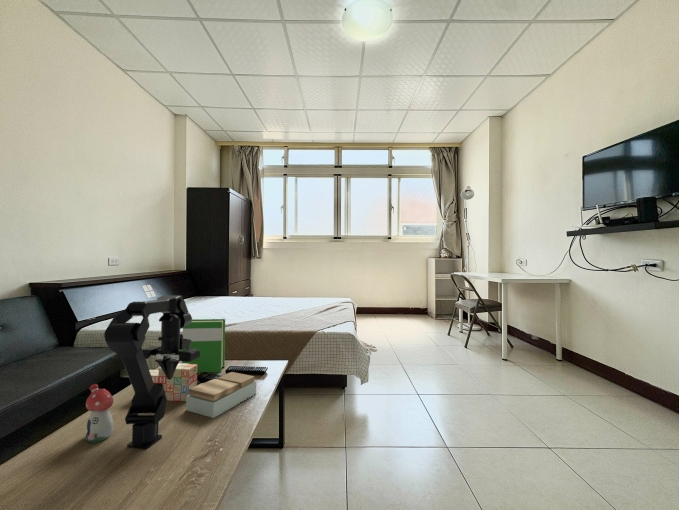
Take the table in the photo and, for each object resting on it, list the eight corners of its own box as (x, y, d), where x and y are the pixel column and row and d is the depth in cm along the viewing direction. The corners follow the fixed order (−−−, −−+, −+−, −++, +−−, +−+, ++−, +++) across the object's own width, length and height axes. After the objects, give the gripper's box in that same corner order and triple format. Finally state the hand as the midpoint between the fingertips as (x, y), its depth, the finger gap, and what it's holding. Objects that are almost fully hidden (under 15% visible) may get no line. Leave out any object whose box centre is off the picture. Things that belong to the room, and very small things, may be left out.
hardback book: (224, 367, 160) (225, 318, 161) (220, 372, 153) (221, 321, 153) (187, 368, 158) (188, 319, 158) (181, 373, 151) (182, 322, 151)
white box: (213, 418, 108) (213, 397, 108) (186, 410, 114) (186, 390, 114) (256, 393, 128) (256, 376, 128) (231, 388, 134) (231, 371, 134)
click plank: (213, 401, 109) (213, 395, 109) (188, 394, 114) (188, 388, 114) (238, 389, 120) (238, 383, 120) (214, 383, 125) (214, 378, 125)
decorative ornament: (83, 434, 98) (84, 384, 98) (109, 426, 102) (110, 379, 103) (87, 447, 91) (88, 393, 91) (115, 438, 96) (116, 387, 96)
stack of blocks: (135, 399, 123) (135, 366, 123) (146, 392, 129) (146, 361, 129) (188, 401, 121) (189, 368, 121) (197, 394, 127) (197, 363, 128)
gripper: (209, 329, 115) (208, 372, 115) (163, 326, 118) (162, 369, 118) (190, 336, 104) (189, 384, 104) (139, 333, 107) (138, 380, 107)
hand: (169, 379), depth 108 cm, fingers closed
